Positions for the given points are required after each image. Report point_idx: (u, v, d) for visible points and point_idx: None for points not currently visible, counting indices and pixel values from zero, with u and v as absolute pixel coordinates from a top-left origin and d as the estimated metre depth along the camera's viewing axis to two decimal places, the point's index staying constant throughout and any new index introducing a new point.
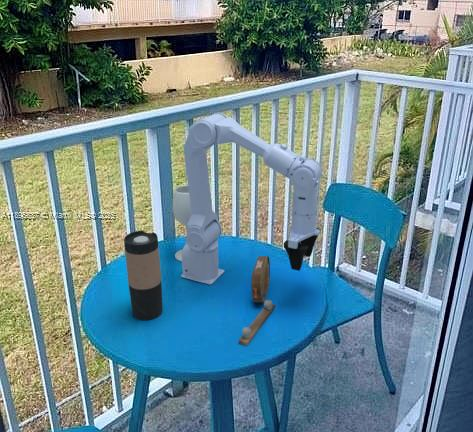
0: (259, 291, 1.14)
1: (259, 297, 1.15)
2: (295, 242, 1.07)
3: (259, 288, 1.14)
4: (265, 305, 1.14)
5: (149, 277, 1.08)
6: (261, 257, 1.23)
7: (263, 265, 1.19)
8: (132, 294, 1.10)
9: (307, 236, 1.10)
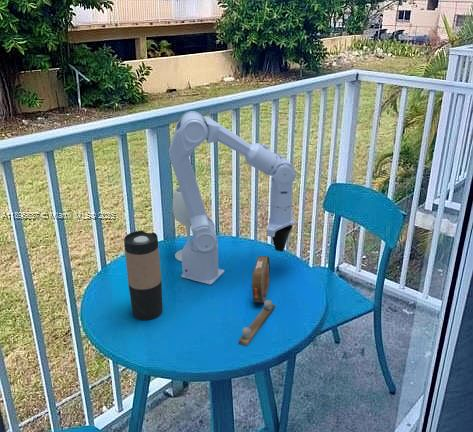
0: (260, 291, 1.14)
1: (259, 297, 1.15)
2: (272, 231, 1.21)
3: (260, 288, 1.14)
4: (265, 305, 1.14)
5: (149, 277, 1.08)
6: (261, 257, 1.23)
7: (263, 265, 1.19)
8: (132, 294, 1.10)
9: (283, 226, 1.24)
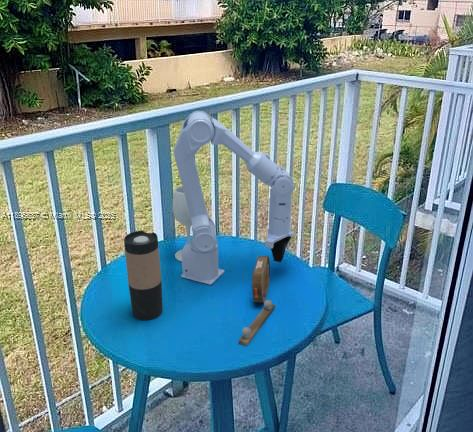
0: (260, 291, 1.14)
1: (259, 297, 1.15)
2: (271, 242, 1.22)
3: (260, 288, 1.14)
4: (265, 305, 1.14)
5: (149, 277, 1.08)
6: (261, 257, 1.23)
7: (263, 265, 1.19)
8: (132, 294, 1.10)
9: (282, 237, 1.24)
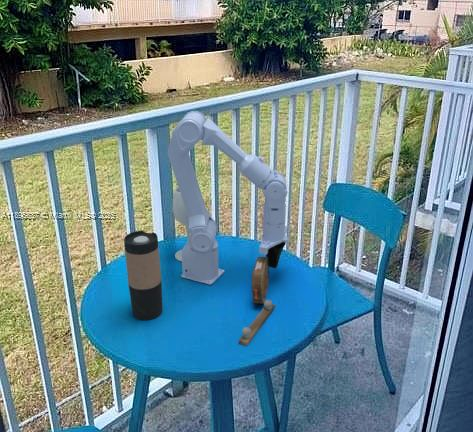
0: (259, 292, 1.14)
1: (259, 298, 1.14)
2: (265, 249, 1.18)
3: (259, 289, 1.14)
4: (265, 305, 1.14)
5: (149, 277, 1.08)
6: (260, 258, 1.23)
7: (263, 266, 1.19)
8: (132, 294, 1.10)
9: (276, 243, 1.21)
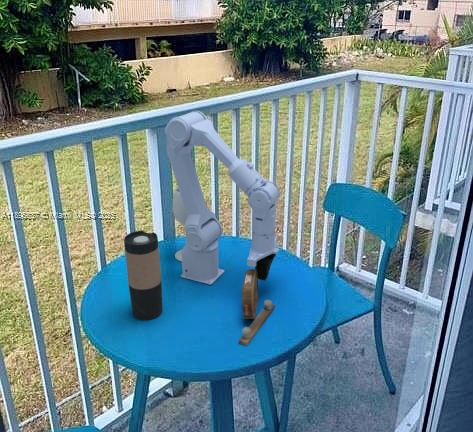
0: (250, 308, 1.08)
1: (250, 313, 1.08)
2: (253, 261, 1.13)
3: (250, 304, 1.08)
4: (265, 305, 1.14)
5: (149, 277, 1.08)
6: (249, 270, 1.17)
7: (252, 279, 1.13)
8: (132, 294, 1.10)
9: (266, 255, 1.16)
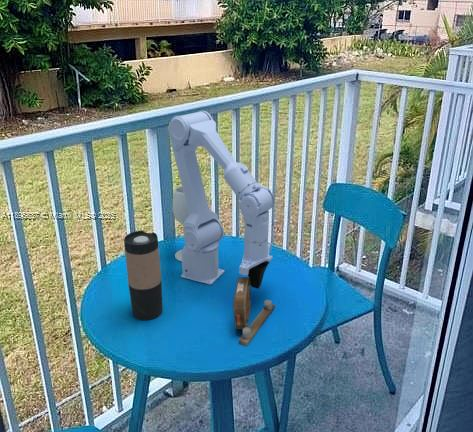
0: (242, 318, 1.04)
1: (242, 324, 1.05)
2: (245, 269, 1.09)
3: (242, 314, 1.04)
4: (265, 305, 1.14)
5: (149, 277, 1.08)
6: (241, 278, 1.13)
7: (245, 288, 1.09)
8: (132, 294, 1.10)
9: (258, 262, 1.12)
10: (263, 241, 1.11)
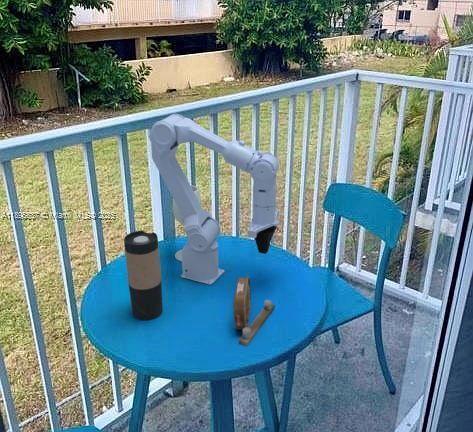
0: (242, 318, 1.04)
1: (242, 324, 1.05)
2: (253, 232, 1.13)
3: (242, 315, 1.04)
4: (265, 305, 1.14)
5: (149, 277, 1.08)
6: (241, 279, 1.13)
7: (245, 288, 1.09)
8: (132, 294, 1.10)
9: (266, 227, 1.16)
10: (271, 206, 1.15)
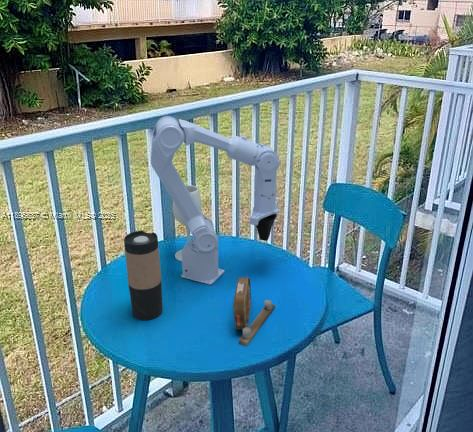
0: (242, 318, 1.04)
1: (242, 324, 1.05)
2: (256, 219, 1.20)
3: (242, 315, 1.04)
4: (265, 305, 1.14)
5: (149, 277, 1.08)
6: (241, 279, 1.13)
7: (245, 288, 1.09)
8: (132, 294, 1.10)
9: (267, 214, 1.23)
10: (271, 195, 1.22)
